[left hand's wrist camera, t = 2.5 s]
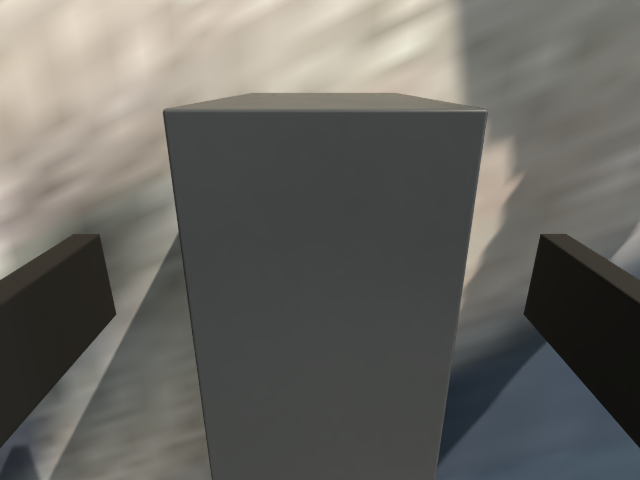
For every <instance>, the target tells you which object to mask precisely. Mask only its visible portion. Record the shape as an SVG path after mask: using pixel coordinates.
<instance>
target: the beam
mask: <svg viewBox="0 0 640 480" xmlns="http://www.w3.org/2000/svg"><path fill="white" fill-rule="evenodd" d="M487 113H488V112H487V110H486V109H483V108H477V107H471V106H466V105H460V104H454V103H449V102H443V101H437V100H432V99H426V98H421V97H415V96H409V95H404V94H398V93H250V94H245V95H239V96H234V97H228V98H222V99H217V100H211V101H206V102H200V103H195V104H189V105H184V106H178V107H173V108H167V109H164V110H163V117H164V124H165V132H166V139H167V147H168V154H169V162H170V169H171V177H172V184H173V192H174V199H175V207H176V214H177V222H178V229H179V236H180V244H181V251H182V259H183V266H184V274H185V281H186V289H187V296H188V304H189V311H190V319H191V326H192V334H193V341H194V349H195V356H196V363H197V371H198V378H199V386H200V393H201V401H202V408H203V416H204V423H205V431H206V438H207V446H208V453H209V461H210V468H211V476H212V480H435V478H436V471H437V464H438V457H439V450H440V443H441V436H442V429H443V422H444V415H445V408H446V401H447V394H448V387H449V380H450V373H451V366H452V359H453V351H454V344H455V337H456V330H457V323H458V316H459V309H460V302H461V295H462V288H463V281H464V274H465V267H466V260H467V253H468V246H469V239H470V232H471V225H472V218H473V211H474V204H475V197H476V190H477V183H478V176H479V169H480V162H481V155H482V148H483V141H484V134H485V127H486V120H487Z"/></svg>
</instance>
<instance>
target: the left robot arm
mask: <svg viewBox="0 0 640 480" xmlns="http://www.w3.org/2000/svg"><path fill="white" fill-rule="evenodd" d="M115 315H116V311H115V306H114V301H113V297H112V292H111V287H110V282H109V278H108V273H107V268H106V263H105V259H104V254H103V249H102V244H101V240H100V235H99V234H73V235H72V236H70V237H68V238H67V239H65V240H64V241H62V242H60V243H59V244H57V245H56V246H54V247H52V248H51V249H49V250H48V251H46V252H45V253H43V254H41V255H40V256H38V257H37V258H35V259H33V260H32V261H30V262H29V263H27V264H25V265H24V266H22V267H21V268H19V269H17V270H16V271H14V272H13V273H11V274H9V275H8V276H6V277H5V278H3V279H1V280H0V448H1V447H2V445H3V444H4V443H5V442H6V441H7V440H8V438H9V437H10V436H11V435H12V434H13V433H14V432H15V430H16V429H17V428H18V427H19V426H20V425H21V423H22V422H23V421H24V420H25V419H26V418H27V417H28V415H29V414H30V413H31V412H32V411H33V410H34V409H35V407H36V406H37V405H38V404H39V403H40V402H41V400H42V399H43V398H44V397H45V396H46V395H47V394H48V392H49V391H50V390H51V389H52V388H53V387H54V385H55V384H56V383H57V382H58V381H59V380H60V379H61V377H62V376H63V375H64V374H65V373H66V372H67V371H68V369H69V368H70V367H71V366H72V365H73V364H74V362H75V361H76V360H77V359H78V358H79V357H80V356H81V354H82V353H83V352H84V351H85V350H86V349H87V347H88V346H89V345H90V344H91V343H92V342H93V341H94V339H95V338H96V337H97V336H98V335H99V334H100V333H101V331H102V330H103V329H104V328H105V327H106V326H107V324H108V323H109V322H110V321H111V320H112V319H113V318H114V316H115ZM524 315H525V316H526V318H527V319H528V320H529V321H530V322H531V323H532V324H533V326H534V327H535V328H536V329H537V330H538V331H539V333H540V334H541V335H542V336H543V337H544V338H545V339H546V341H547V342H548V343H549V344H550V345H551V346H552V347H553V349H554V350H555V351H556V352H557V353H558V354H559V356H560V357H561V358H562V359H563V360H564V361H565V362H566V364H567V365H568V366H569V367H570V368H571V369H572V371H573V372H574V373H575V374H576V375H577V376H578V377H579V379H580V380H581V381H582V382H583V383H584V384H585V385H586V387H587V388H588V389H589V390H590V391H591V392H592V394H593V395H594V396H595V397H596V398H597V399H598V400H599V402H600V403H601V404H602V405H603V406H604V407H605V409H606V410H607V411H608V412H609V413H610V414H611V415H612V417H613V418H614V419H615V420H616V421H617V422H618V424H619V425H620V426H621V427H622V428H623V429H624V430H625V432H626V433H627V434H628V435H629V436H630V437H631V438H632V440H633V441H634V442H635V443H636V444H637V445H638V447H639V448H640V280H639V279H637V278H635V277H634V276H632V275H631V274H629V273H627V272H626V271H624V270H623V269H621V268H619V267H618V266H616V265H615V264H613V263H611V262H610V261H608V260H607V259H605V258H603V257H602V256H600V255H599V254H597V253H595V252H594V251H592V250H591V249H589V248H588V247H586V246H584V245H583V244H581V243H580V242H578V241H576V240H575V239H573V238H572V237H570V236H568V235H567V234H541V235H540V239H539V244H538V249H537V254H536V259H535V263H534V268H533V273H532V278H531V282H530V287H529V292H528V297H527V301H526V306H525V311H524Z"/></svg>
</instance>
